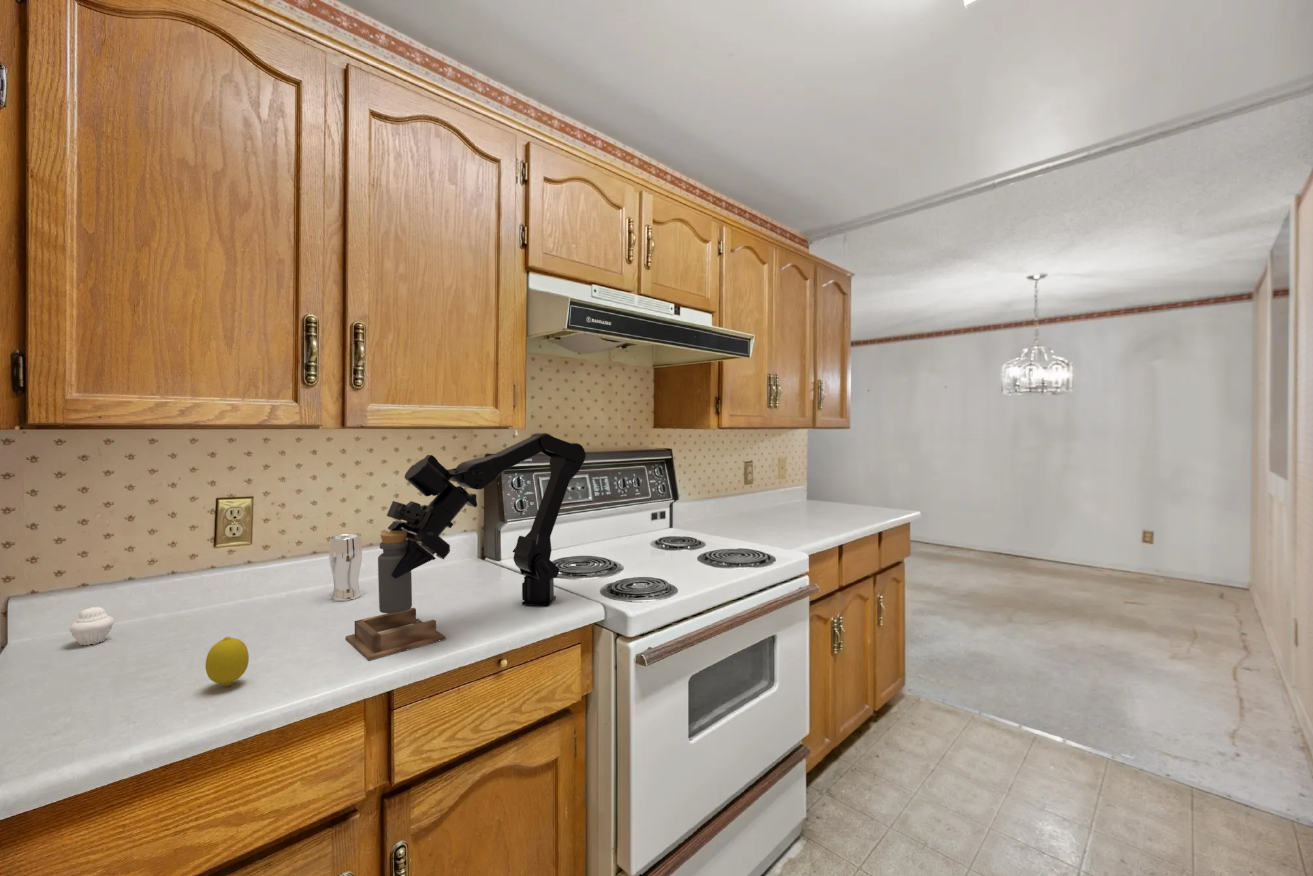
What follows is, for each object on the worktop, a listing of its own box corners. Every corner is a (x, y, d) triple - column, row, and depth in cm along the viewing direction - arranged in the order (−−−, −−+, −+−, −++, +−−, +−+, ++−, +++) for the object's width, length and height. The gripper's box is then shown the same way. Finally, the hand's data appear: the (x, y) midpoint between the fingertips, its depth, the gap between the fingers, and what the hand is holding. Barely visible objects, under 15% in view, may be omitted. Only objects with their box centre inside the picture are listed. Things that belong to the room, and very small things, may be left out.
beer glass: (368, 596, 137) (367, 535, 137) (339, 603, 131) (338, 540, 131) (353, 591, 141) (351, 532, 140) (324, 599, 135) (323, 537, 134)
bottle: (408, 612, 107) (406, 534, 107) (375, 615, 106) (373, 536, 105) (414, 602, 113) (412, 529, 112) (383, 605, 111) (381, 530, 111)
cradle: (417, 621, 119) (417, 604, 119) (445, 639, 109) (445, 621, 109) (345, 639, 109) (345, 621, 109) (368, 660, 99) (368, 640, 99)
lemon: (221, 678, 92) (220, 631, 92) (257, 677, 93) (255, 630, 93) (197, 695, 87) (195, 644, 87) (234, 693, 87) (233, 643, 87)
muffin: (87, 637, 111) (86, 603, 110) (122, 635, 112) (121, 601, 112) (60, 650, 105) (59, 613, 104) (98, 647, 106) (97, 611, 106)
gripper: (396, 482, 118) (340, 542, 111) (432, 489, 105) (370, 558, 97) (434, 514, 124) (383, 573, 116) (473, 525, 110) (417, 593, 103)
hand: (387, 574), depth 108 cm, fingers closed on bottle, 6 cm apart
